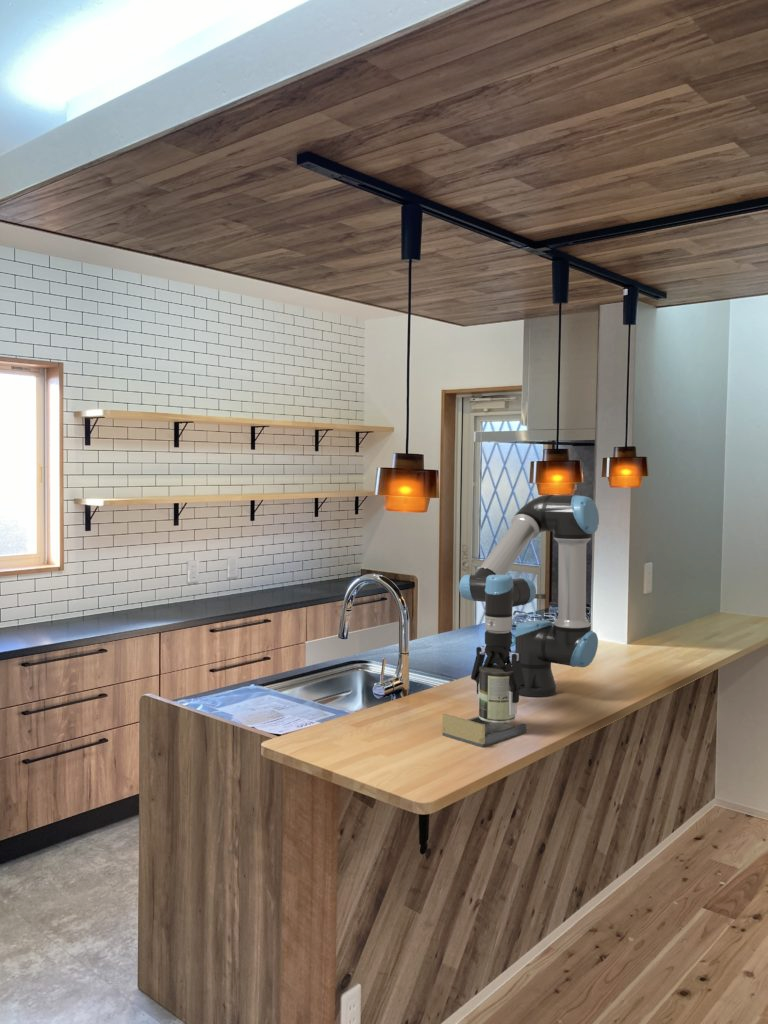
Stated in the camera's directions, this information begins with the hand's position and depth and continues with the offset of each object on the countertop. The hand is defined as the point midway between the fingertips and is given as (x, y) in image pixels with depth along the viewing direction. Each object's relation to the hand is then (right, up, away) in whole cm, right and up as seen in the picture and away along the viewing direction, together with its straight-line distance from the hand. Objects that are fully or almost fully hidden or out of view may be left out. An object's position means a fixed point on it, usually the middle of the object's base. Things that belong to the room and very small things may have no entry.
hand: (497, 709), depth 238 cm
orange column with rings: (+15, -1, +96) cm, 97 cm away
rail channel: (-4, -6, -3) cm, 8 cm away
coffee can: (0, -3, 0) cm, 3 cm away
